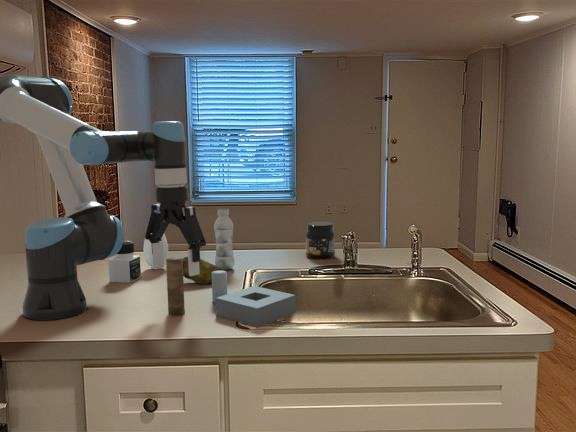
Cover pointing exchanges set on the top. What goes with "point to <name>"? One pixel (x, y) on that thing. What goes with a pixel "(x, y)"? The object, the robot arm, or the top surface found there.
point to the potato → (204, 269)
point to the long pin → (175, 286)
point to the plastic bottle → (224, 240)
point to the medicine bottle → (125, 265)
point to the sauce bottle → (148, 251)
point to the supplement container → (320, 240)
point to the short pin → (219, 284)
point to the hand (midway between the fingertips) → (176, 271)
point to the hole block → (255, 305)
